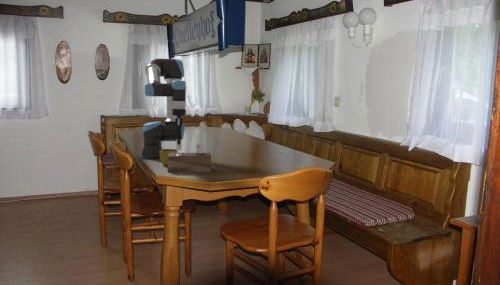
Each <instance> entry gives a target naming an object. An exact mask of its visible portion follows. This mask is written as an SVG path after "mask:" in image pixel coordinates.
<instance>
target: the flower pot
mask: <svg viewBox="0 0 500 285" xmlns="http://www.w3.org/2000/svg"><path fill="white" fill-rule="evenodd" d="M159 153H160V158H159V159H160V161H161V164H162V165H163V166H168V154H169V153H178V150H177V148H175V149H174V148H162V150H160V151H159Z"/></svg>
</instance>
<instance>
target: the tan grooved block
mask: <svg viewBox="0 0 500 285" xmlns="http://www.w3.org/2000/svg"><path fill="white" fill-rule="evenodd" d="M175 154H183V155H175ZM211 172H212V154H211V152H204V155H197V152H177V153H169V154H168V165H167V173H211Z"/></svg>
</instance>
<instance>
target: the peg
mask: <svg viewBox="0 0 500 285" xmlns="http://www.w3.org/2000/svg"><path fill="white" fill-rule="evenodd" d="M196 153H197V155H204V153H205V143H197V144H196Z"/></svg>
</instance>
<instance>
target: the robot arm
mask: <svg viewBox="0 0 500 285" xmlns="http://www.w3.org/2000/svg"><path fill="white" fill-rule="evenodd" d="M184 68H185V67H184V62H183V60H181V59H180V58H179V59H178V58H154V59H152V60H151V61H149V62H148V63H147V64H146V66H145V68H144V71H145V75H146V78H147V82H146V83H145V84H144V95H145V96H146V97H151V98H152V97H153V98H154V97H166V119H165V120H164V123H162V121H150V122H146V123H144V124H143V125H142V126H143V128H142V134H143V135H142V141H143V145H142V149H141V153H140V158H142V159H144V160H159V159H160V153H159V151H160V150H162V149H163V147H162V142H176V149H177V151H182V140H183V139H184V135H185V130H186V129H185V124H184V123H183V118H182V117H183V116H184V117H185V116H186V115H187V109H186V108H187V101H186V98H187V92H186V91H187V85H186V84H187V83H186V81H185V80H183V78H184V77H185V69H184ZM161 77H163V80H164V81H165V82H166V83H164V82H163V83H162V82H161Z"/></svg>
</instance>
